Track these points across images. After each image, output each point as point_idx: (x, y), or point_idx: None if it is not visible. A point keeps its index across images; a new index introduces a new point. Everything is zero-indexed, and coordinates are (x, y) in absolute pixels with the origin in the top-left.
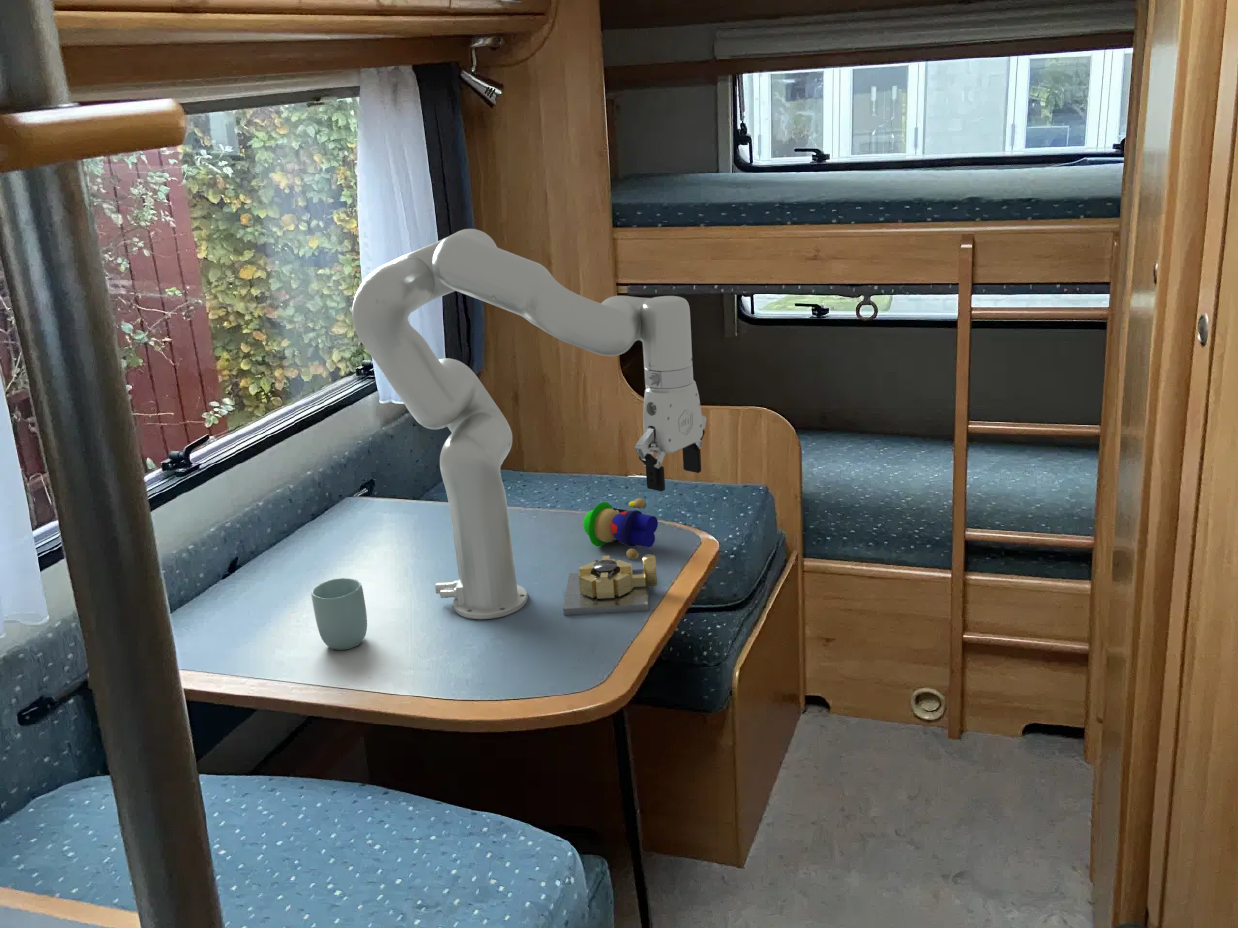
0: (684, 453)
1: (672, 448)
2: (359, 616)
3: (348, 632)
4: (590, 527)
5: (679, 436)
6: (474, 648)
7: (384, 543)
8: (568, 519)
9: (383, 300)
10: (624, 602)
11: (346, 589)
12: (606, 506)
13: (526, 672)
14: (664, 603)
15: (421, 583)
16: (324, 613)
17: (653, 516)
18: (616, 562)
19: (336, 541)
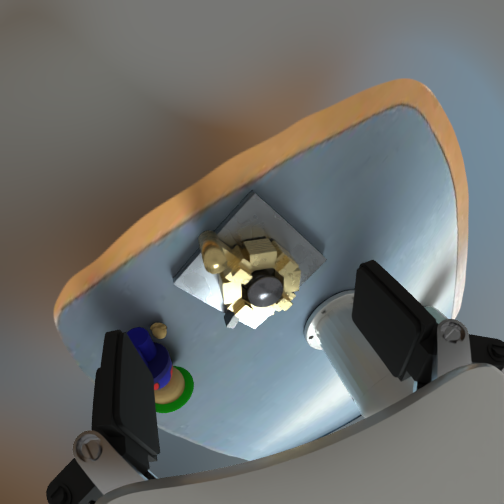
0: (154, 432)
1: (478, 387)
2: (436, 319)
3: (437, 311)
4: (191, 385)
5: (454, 484)
6: (403, 253)
7: (294, 424)
8: (160, 414)
9: None
10: (272, 221)
11: None
12: (158, 406)
13: (417, 182)
14: (219, 191)
15: (332, 372)
16: None
17: None
18: (233, 299)
19: (308, 431)
